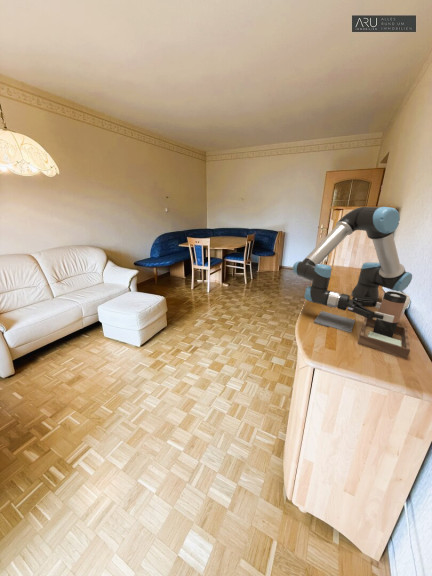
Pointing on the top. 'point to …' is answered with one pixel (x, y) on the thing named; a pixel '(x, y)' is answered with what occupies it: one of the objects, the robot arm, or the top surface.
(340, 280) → the top surface
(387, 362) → the top surface
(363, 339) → the brown wooden tray
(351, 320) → the charcoal mat
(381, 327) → the travel mug
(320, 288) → the robot arm
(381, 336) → the top offcut
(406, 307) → the cup
